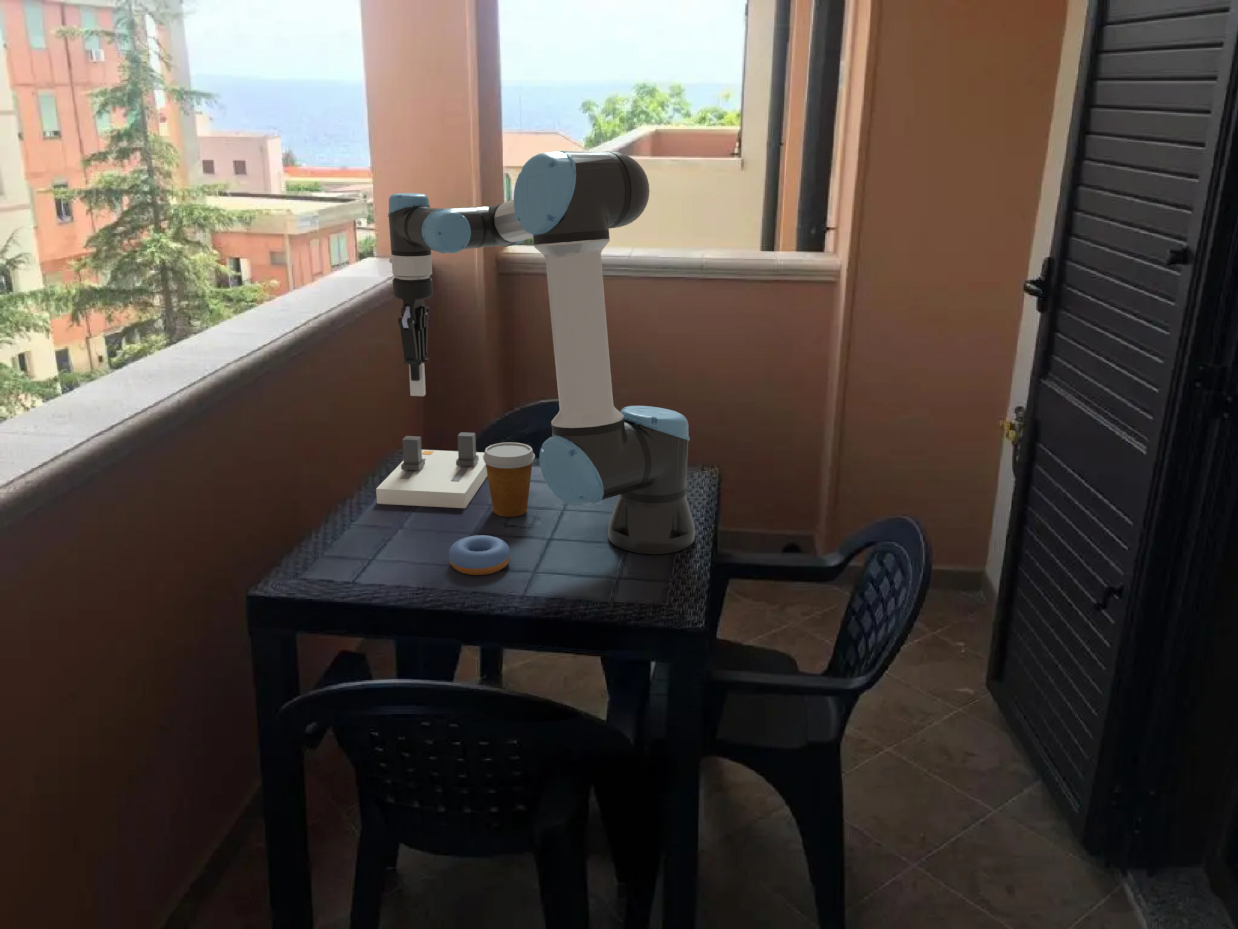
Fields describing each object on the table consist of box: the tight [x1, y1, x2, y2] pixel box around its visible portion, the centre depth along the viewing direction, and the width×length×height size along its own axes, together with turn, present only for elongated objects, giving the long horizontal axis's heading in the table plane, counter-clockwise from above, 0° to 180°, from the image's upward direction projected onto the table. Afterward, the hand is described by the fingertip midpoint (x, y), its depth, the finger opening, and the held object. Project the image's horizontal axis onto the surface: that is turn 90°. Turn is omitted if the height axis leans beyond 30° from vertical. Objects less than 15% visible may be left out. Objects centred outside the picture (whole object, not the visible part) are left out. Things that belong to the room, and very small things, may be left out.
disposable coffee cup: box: [483, 441, 536, 518], centre depth 180 cm, size 10×10×12 cm
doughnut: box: [448, 534, 511, 576], centre depth 159 cm, size 10×10×5 cm
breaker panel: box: [375, 449, 488, 509], centre depth 194 cm, size 24×17×3 cm
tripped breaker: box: [401, 435, 425, 471], centre depth 193 cm, size 4×4×6 cm
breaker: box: [456, 431, 479, 466], centre depth 196 cm, size 4×4×6 cm
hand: (418, 394), depth 196 cm, fingers closed
